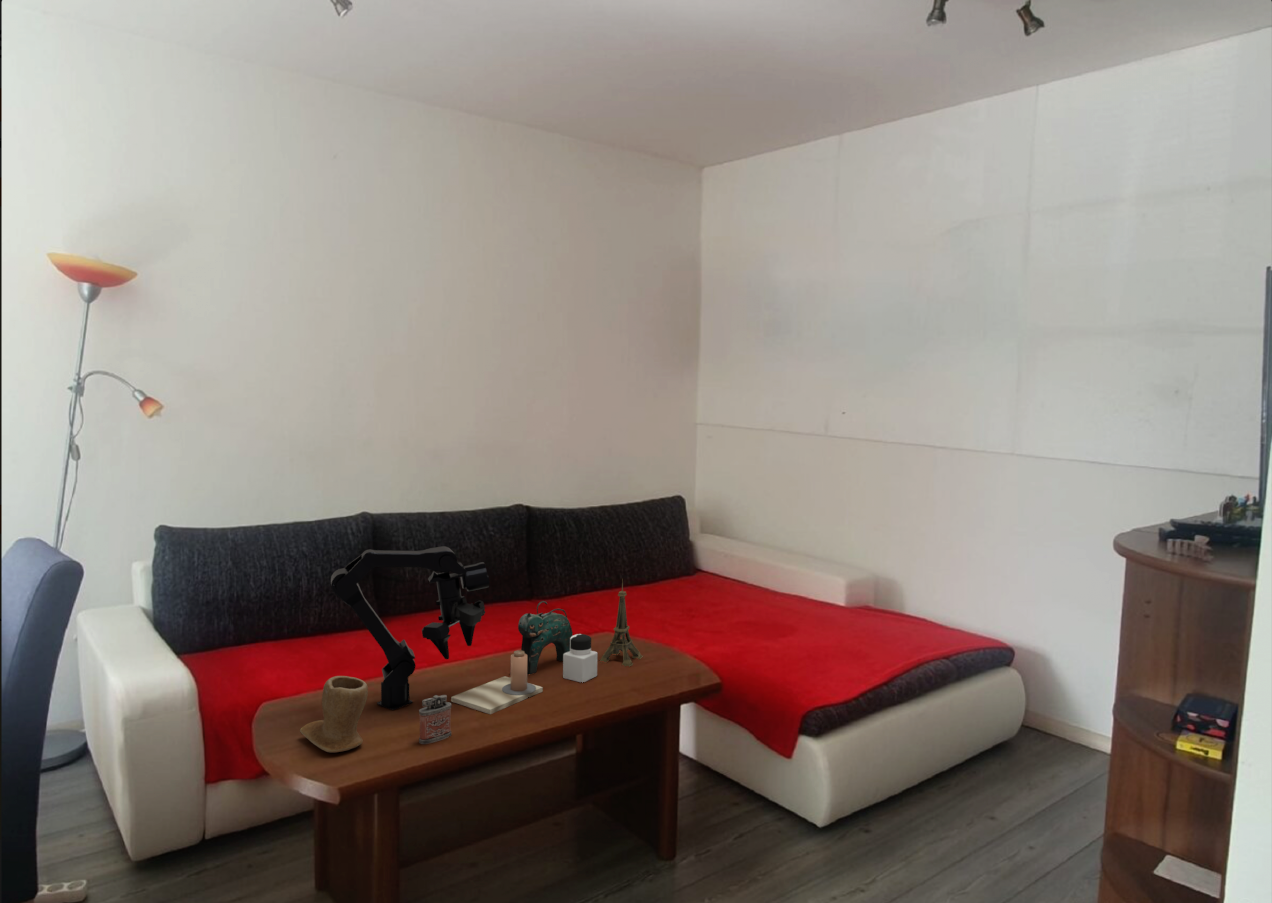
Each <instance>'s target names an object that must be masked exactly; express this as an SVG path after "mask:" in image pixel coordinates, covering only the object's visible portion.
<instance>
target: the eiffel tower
mask: <svg viewBox="0 0 1272 903" xmlns="http://www.w3.org/2000/svg"><path fill="white" fill-rule="evenodd" d="M621 581H622V583H621V591H619V592H617V593H618V594H617V597H619V600H618V609H617V616H616V625H615V627H614V628H613V631H614V635H613V638H612V640H611V641H609V643H610V645H609V646H608V647H607V649H606V650H605V652H604V653H603V655H602V656H601V658H600V659H599V660H600V661H604V662H607V661H609V660H610V661H611V658H610V657H611V656H612V655H611V654H616V655H617V654H619V653H620V652H622V664H621V666H622V665H624V666H623V667H626V666H629V667H628V668H630V666H631V667H632V666H634V665H633V664H634V663H633V662H632V659H635V658H638V659H637V660H642V659H643V658H644V657H643V656H644V655H642V654H641V652H640V650H639V649H638V648H637V647H636V646H635V644H634V643H633V640H634V639H631V636H630V632H629V630H630V625H628V619H627V618H628V617H627V607H626V596H627V592H626V591H624V581H623V578H622V580H621ZM628 650H629V652H630V653H631V655H632V656H631V657H630V655H629V653H628ZM620 654H621V653H620ZM620 654H619V655H620ZM616 655H615V656H616ZM617 656H618V655H617ZM642 657H643V658H642ZM641 658H642V659H641ZM610 661H609V662H610ZM607 663H608V662H607Z"/></svg>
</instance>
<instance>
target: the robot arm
mask: <svg viewBox="0 0 1272 903" xmlns="http://www.w3.org/2000/svg"><path fill="white" fill-rule="evenodd" d="M374 568H420V569H421V568H422V569H426V570H430V571H432V573H431V575H429V577H428V578H427V580H428V581H429V582H428V583H430V584H433V583H436V588H437V593H438V594H437V595H438V600H436V601H435V603H436V604H435V605H436V606H439V607H440V614H441V615H439V616H438V617H437V618H438V619H437V620H438V621H442V622H431V623H428V624H427V625H425V626H423V628H422V629H421V634H422V639H426V640H429V641H430V642H432V644H433V645H434V646H435V647H436V648H437V650H438V651H439V653H440V655H441V656H442V657H443V658H444V659H445V660H449V659H450V652H449V651H450V650H449V649H450V648H449V640H450V638H451V636H452V635H451V634H449V633H450V628H451V627H453V626H455V625H456V624H458V623H459V626H460V629H461V632H462V635H463V638H464V641H465V643H466V645H467V647H471V646H473V639H474V634H475V633H474V632H475V629H476V625H477V624H479V623H480V622H482V617H483V616H485V614H486V611H485V609H486V607H485V603H484V601H482V600H480V599H479V600H477V601H475V602H474V603H473V602H471V603H468V602H467V598H466V596H464V595H463V596H462V592H461V591H462V590H461V588H462V589H464V590H466V591H467V592H472V591H476V590H477V591H478V590H481V589H487V588H489V587H490V577H489V575H488V572H487V568H486V563H485V562H483V561H482V562H481V561H480V562H477V563H473V564H470V565H469V564H468V565H464V564H462V562H461V561H458V558H457V555H456V554H455V552H454V551H453V550H452V549H451V548H450V547H448V546H443V545H442V546H438V547H436V546H435V547H430V548H427V549H422V550H379V549H377V550H376V549H366V550H364V551H363V552H362V553H361V554H360V555H359V556H357V557H356V558H355V559H354V560H352V561H350V562H349V563H348V564H347V565H346V566H345V567H343V568H339V569H336V570H335V571H334V572H333V573H332V574H331V576H330V585H331V586H330V587H331V591H332V592H333V594H335V595H336V596H337V597H338V599H340V600H341V601H342V602H343V603H345V605H347V606H349V607H350V608H352V609H351V610H353V611H354V613H355V614H356V615H357V617H358V618H359V619H360V621H361V622H362V623H363V625H364V626H365V628H366V629H367V630H368V632H369V633H370V634H371V636H372V638H373V639H374V640H375V641H376V643H377V644H378V645H379V647H380V648H381V650H382V651H383V653H384V655H385V657H386V659H387V663H386V664H385V665H384V666H383V667H382V668H381V672H382V677H383V681H381V683H380V701H377V702H376V705H377V706H380V707H381V708H382V707H383V708H385V709H388V710H391V711H395V710H398V709H400V708H403V707H405V706H408V705H412V704H413V700H411V699H410V683H409V677H410V676H412V675H413V673H414V672H415V670H416V661H415V660H414V659H416V657H415V653H414V651H413V649H412V648H410V647H409V645H408V643H407V642H406V640H405V639H404V638H403V639H402V640H401V641H398V640H397V639H396V638H395V637H394V636H393V634H392V633H391V632H390V630H389V629H388V628H387V626H386V625H385V623H384V622H383V621H382V618H380V617H379V615H378V614H377V612H376V611H375V610H374V609H373V606H371V604H370V603H369V601H368V600H367V599H366V598H365V596H364V594H363V592H362V590H361V587H360V584H359V583H360V581H362V580H363V578H364V577H365V576H366V575H367V574H368V573H369V572H370V571H372V569H374ZM438 572H439V573H438ZM450 572H451V573H450ZM459 578H460V579H459Z"/></svg>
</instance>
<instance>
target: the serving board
mask: <svg viewBox="0 0 1272 903" xmlns="http://www.w3.org/2000/svg"><path fill="white" fill-rule="evenodd" d="M543 688H544V687H543V686H540V685H536V684H533V683H529V682H527V689H526V690H524V691H512V690H511V677H510V676H509V677H508V676H505V675H504V676H501V677H499V678H496V679H494V680H491V681H489V682H487V683H486V682H485V683H483V684H481V685H478V686H476V687H473V688H470V689H468V690H466V691H463V692H460V693H458V694H455V695H453V696H451V697H450V701H451V702H450V703H455V704H457V705H460V706H464V707H467V708H469V709H472V710H475V711H476V710H477V711H479V712H483V713H485V714H488V715H492V714H494V713H497V712H498V711H499V712H500V711H501V710H504V709H505V708H508V707H510V706H513V705H514V704H517V703H520V702H522V701H524V700H526V699H528V697H529V698H531V697H533V696H535V695H538V694H540V693H543Z"/></svg>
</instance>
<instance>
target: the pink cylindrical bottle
mask: <svg viewBox="0 0 1272 903" xmlns="http://www.w3.org/2000/svg"><path fill="white" fill-rule="evenodd" d="M510 678H511V690H512V691H524V690H526V689H527V683H528V674H527V654H524V651H522V650H521V649H517V650H515V651H513V653H512V654H511V655H510Z"/></svg>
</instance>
